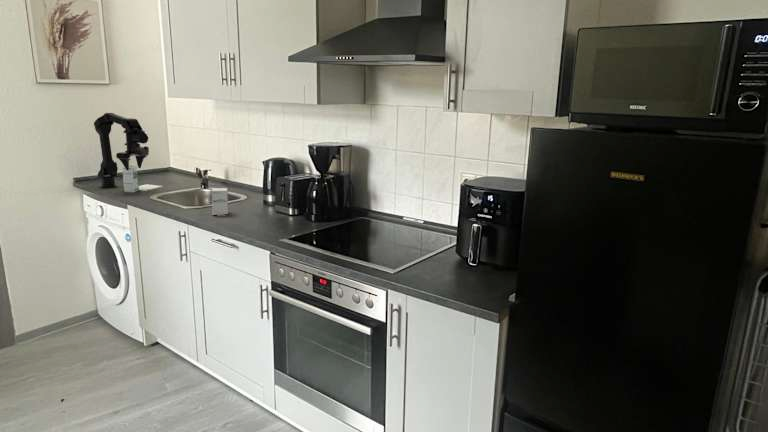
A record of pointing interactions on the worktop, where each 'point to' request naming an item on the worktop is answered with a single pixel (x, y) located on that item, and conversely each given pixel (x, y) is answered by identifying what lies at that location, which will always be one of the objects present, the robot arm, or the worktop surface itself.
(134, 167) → the syrup box
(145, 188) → the mat
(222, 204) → the supplement box
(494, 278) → the worktop surface
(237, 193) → the worktop surface
